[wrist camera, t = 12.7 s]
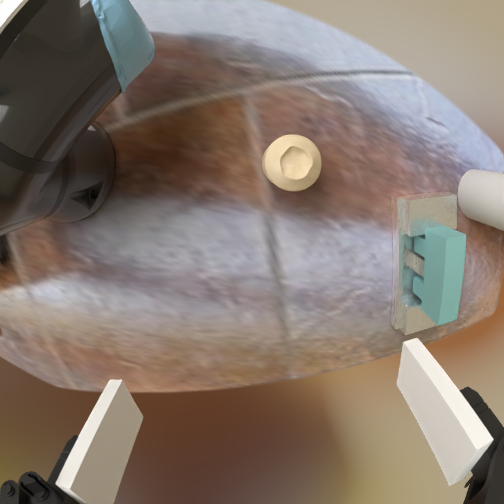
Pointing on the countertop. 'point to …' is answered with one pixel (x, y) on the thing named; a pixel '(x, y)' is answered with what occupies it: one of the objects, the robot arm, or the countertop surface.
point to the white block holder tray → (406, 259)
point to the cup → (483, 197)
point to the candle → (292, 163)
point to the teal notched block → (440, 272)
